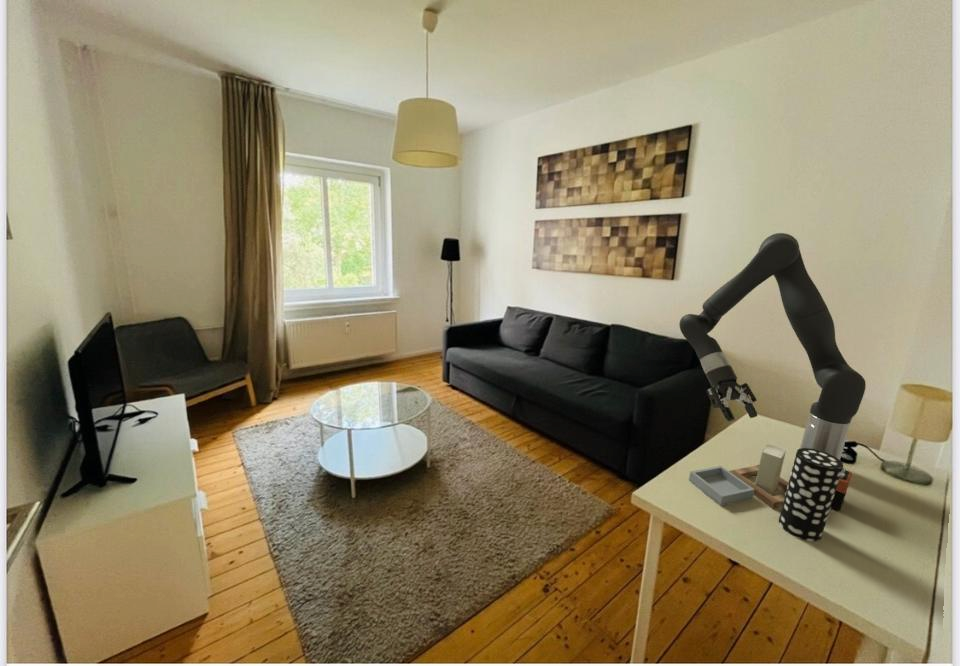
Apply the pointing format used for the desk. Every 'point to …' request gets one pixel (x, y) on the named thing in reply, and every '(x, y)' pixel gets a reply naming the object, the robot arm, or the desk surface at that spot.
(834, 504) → the battery
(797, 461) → the white-spotted black cylinder
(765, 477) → the skincare box
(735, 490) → the tray
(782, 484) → the brown flat rectangular frame
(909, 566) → the desk surface
